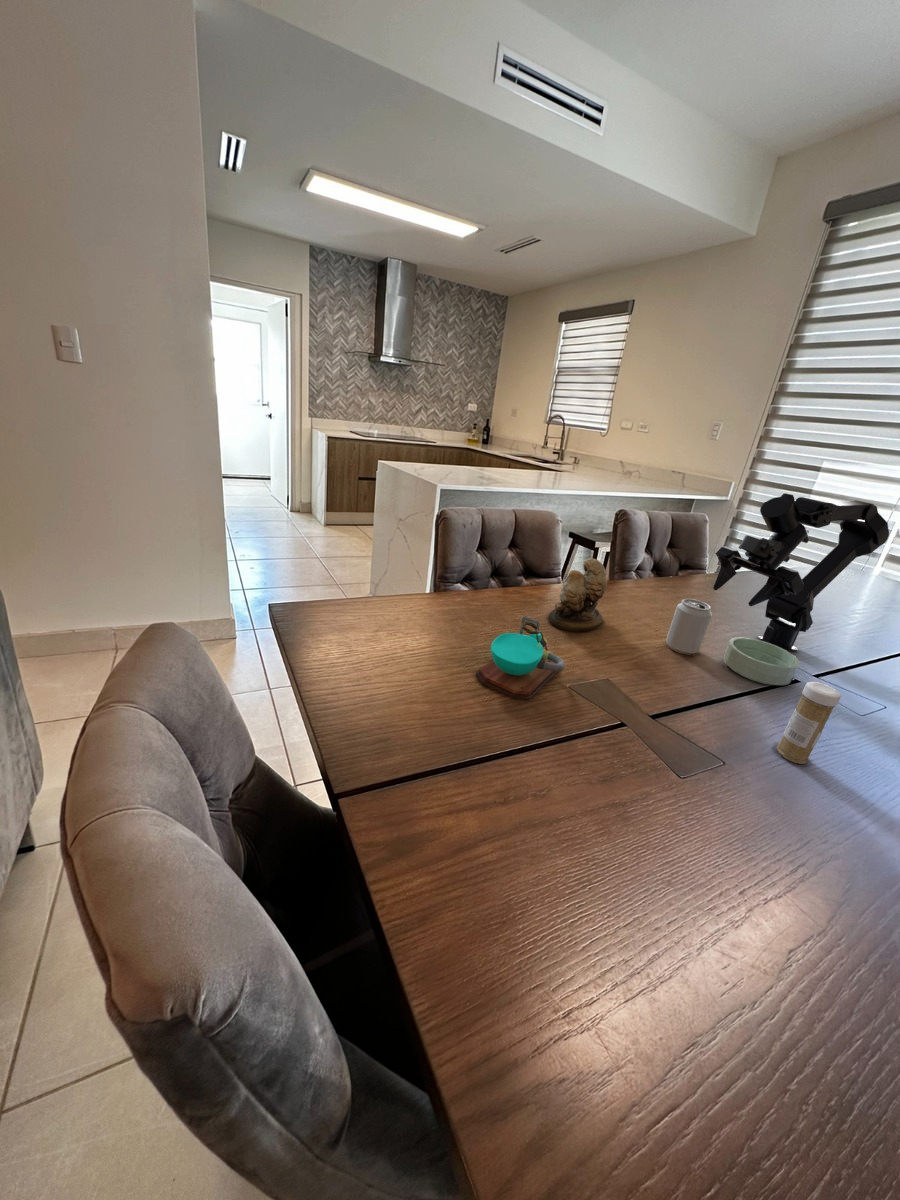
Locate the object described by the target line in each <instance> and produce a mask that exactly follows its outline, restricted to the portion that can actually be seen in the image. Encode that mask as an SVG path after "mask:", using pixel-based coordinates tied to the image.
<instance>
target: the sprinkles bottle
mask: <svg viewBox="0 0 900 1200" xmlns="http://www.w3.org/2000/svg"><path fill="white" fill-rule="evenodd" d="M840 699H841V693H840V692H839V691H838V690H837V689H835V688H834V687H832V686H830V685H827V684H825V683H822V682H818V681H808V682H806V683H805V686H804V688H803V690H802V693H801V697H800V699H799V701H798V703H797V705H796V707H795V709H794V711H793V713H792V715H791V717H790V719H789V721H788V723H787V725H786V727H785V728H784V732H783V735H782V737H781V739H780V741H779V743H778V744H777V746H776V752H777V753H778V754H779V756H781V757H782V758H784V759H786V760H788V761H790V762H791V763H794V764H799V765H804V764H806V763H808V762H809V757H810V756H811V753H812V752H813V749H814V748H815V747H816V745H817V743H818V741H819V739H820V737H821V735H822V732H823V730H824V728H825V725H826V724H827V722H828V720H829V719H830V716H831V714H832V712H833V709H834V708H835V707H836V706H837V705H838V704H839V701H840Z"/></svg>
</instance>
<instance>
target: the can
mask: <svg viewBox="0 0 900 1200" xmlns="http://www.w3.org/2000/svg"><path fill="white" fill-rule="evenodd" d="M711 609H712V606H711V605H710V604H708V603H706V602H704V601H702V600H698V599H694V598H682V600H681V602H680V603H678V604H677V605H676V608H675V612H674V614H673V617H672V621H671V623H670V627H669V629H668V633H667V635H666V638H665V642H666V644H667V647H668V648H669V649H670V650H672V651H674V652H676V653H679V654H682V655H687V656H688V655H690V656H691V655H694V654H696V653H699V651H700V650H701V646H702V644H703V642H704V638H705V635H706V633H707V631H708V627H709V624H710V621H711V619H712V616H713V613H712V611H711Z"/></svg>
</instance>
